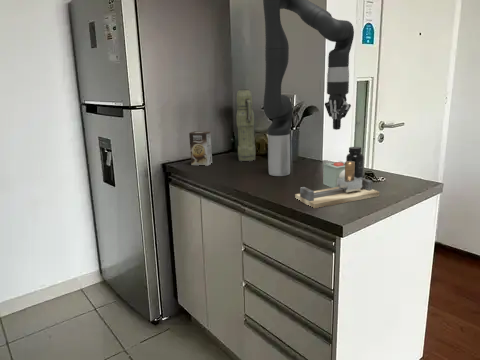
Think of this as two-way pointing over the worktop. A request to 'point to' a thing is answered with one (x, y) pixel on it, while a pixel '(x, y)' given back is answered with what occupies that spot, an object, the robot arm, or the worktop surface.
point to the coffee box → (200, 148)
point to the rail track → (335, 195)
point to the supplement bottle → (356, 160)
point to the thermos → (245, 126)
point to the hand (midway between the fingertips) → (336, 129)
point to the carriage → (349, 179)
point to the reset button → (338, 164)
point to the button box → (332, 174)
